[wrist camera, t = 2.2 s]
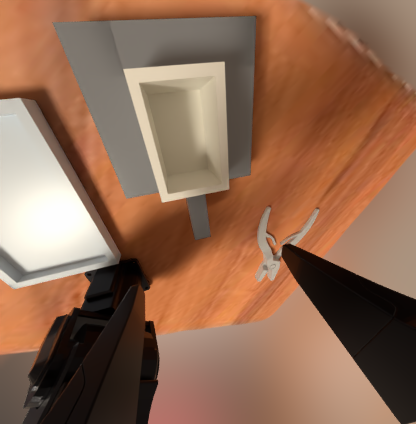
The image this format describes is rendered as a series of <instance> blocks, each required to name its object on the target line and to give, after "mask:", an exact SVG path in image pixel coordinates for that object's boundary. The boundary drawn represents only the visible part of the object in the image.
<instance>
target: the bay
mask: <svg viewBox="0 0 416 424" xmlns="http://www.w3.org/2000/svg"><path fill="white" fill-rule="evenodd" d="M52 23H53V25H54V27H55V30H56V32H57V35H58V37H59V39H60V42H61V44H62V46H63V49H64V51H65V54H66V56H67V58H68V61H69V63H70V65H71V68H72V70H73V73H74V75H75V77H76V80H77V82H78V84H79V87H80V89H81V92H82V94H83V96H84V99H85V101H86V103H87V106H88V108H89V111H90V113H91V115H92V118H93V120H94V122H95V125H96V127H97V130H98V132H99V134H100V137H101V139H102V141H103V144H104V146H105V149H106V151H107V153H108V156H109V158H110V160H111V163H112V165H113V168H114V170H115V172H116V175H117V177H118V179H119V182H120V184H121V187H122V189H123V191H124V194H125V196H126V198H132V197H138V196H143V195H148V194H154V193H159V190H158V187H157V183H156V180H155V176H154V173H153V169H152V166H151V163H150V159H149V156H148V152H147V149H146V146H145V142H144V139H143V135H142V132H141V128H140V125H139V122H138V118H137V115H136V111H135V108H134V105H133V101H132V98H131V94H130V91H129V87H128V84H127V81H126V77H125V74H124V70H123V69H131V68H144V67H158V66H171V65H185V64H198V63H211V62H225V86H226V113H227V140H228V167H229V179H233V178H238V177H244V176H249V175H250V173H251V146H252V119H253V92H254V65H255V38H256V16H240V17H209V18H178V19H146V20H115V21H84V22H52Z"/></svg>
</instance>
